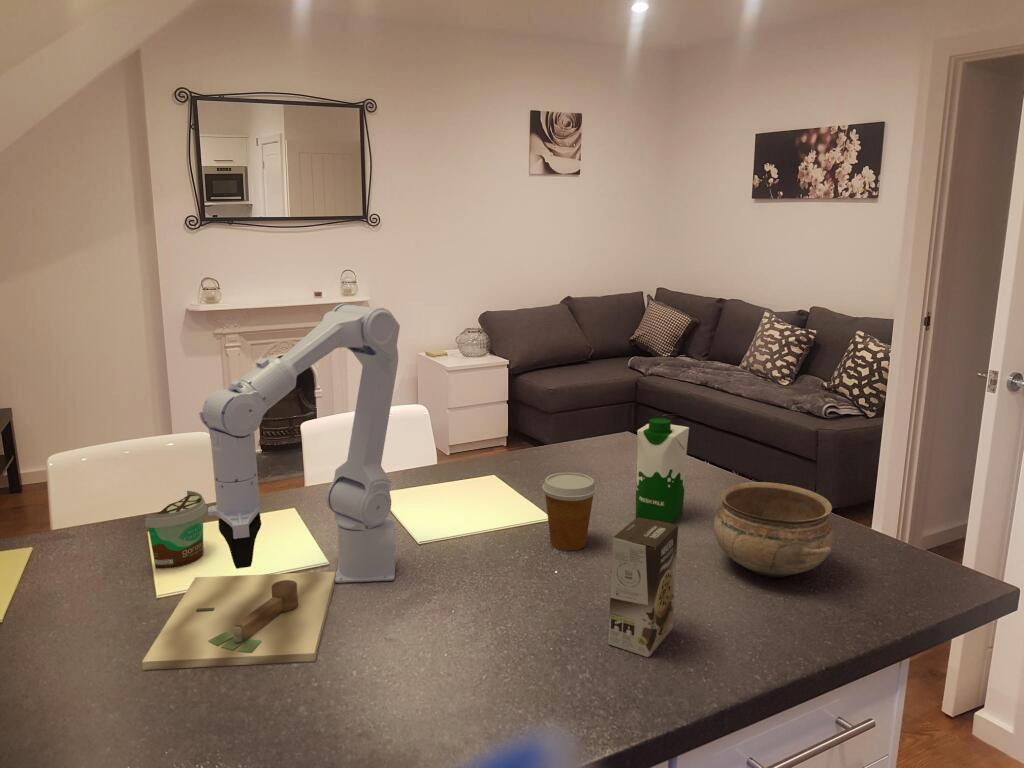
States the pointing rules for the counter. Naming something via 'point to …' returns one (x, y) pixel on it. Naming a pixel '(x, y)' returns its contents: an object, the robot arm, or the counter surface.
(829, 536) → the cooking pot
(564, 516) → the disposable coffee cup
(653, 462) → the milk carton
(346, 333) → the robot arm
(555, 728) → the counter surface
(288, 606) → the tuning peg
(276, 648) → the dial board
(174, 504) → the food container
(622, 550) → the coffee box
